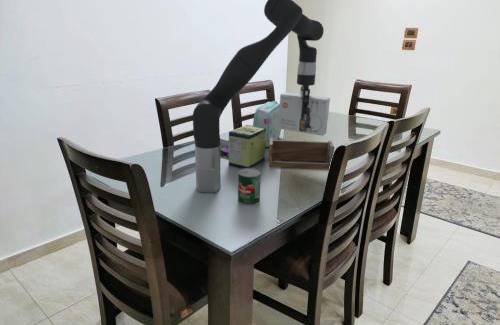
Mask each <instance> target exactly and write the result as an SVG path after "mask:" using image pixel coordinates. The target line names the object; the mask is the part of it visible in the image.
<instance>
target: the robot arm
mask: <svg viewBox="0 0 500 325" xmlns="http://www.w3.org/2000/svg"><path fill="white" fill-rule="evenodd" d="M263 11H264V12H263V13H264V16H265V17H266V19H267V20H268V21H269V22H270V23H271V24H272V25H274V26H275V28H274V29H273V30H272V31H271V32H269V34H268V35H267V36H266V37H264V38H262V39H259V40H257V41H255V42H252V43H250V44H247V45H245V46H243V47H241V48H240V49H239V50H238V51H236V53H235V55H234V56H233V57H232V58H231V60H230V61H229V62H228V64H227V66H226V67H225V69H224V70H223V72H222V74H221V75H220V78H219V80H218V81H217V83H216V84H215V85H214V87H213V88H212V90H211V91H209V92H208V94H206V96H205V97H204V98H203V99H202V100H201V101H200V102H198V103H197V105H196V106H195V108H194V110H193V113H192V128H193V130H192V132H193V139H194V151H195V152H194V156H195V161H194V162H195V185H196V186H195V188H196V190H197V192H198V193H208V194H209V193H210V194H211V193H212V194H215V193H216V192H217V191H219V190H220V189H221V183H222V182H221V155H220V139H221V135H220V133H221V132H220V129H221V128H220V117H221V116H222V114H223V112H224V110H225V109H226V108H227V106H228V104H229V102H230V101H231V100H232V99H233V97H234V96H236V95H237V94H238V93H239V92H240V91H241V90H243V88H244V87H245V86H246V85H248V84H249V82H250V81H251V80H252V79H253V77H254V76H255V75H256V74H257V72H258V71H259V70H260V68H261V67H262V66H263V65H264V63H265V62H266V60H267V59H268V58H269V57H270V55H271V54H272V53H273V52H274V50H275V49H277V47H278V46H280V43H282V42H283V40H284V39H285V38H286V37H287V36H288V35H289V34H290V33H291V32H293V33H294V34H296V37H297V40H298V41H297V42H298V49H299V53H298V54H299V56H298V65H297V75H296V84H297V85H298V86H300V90H299V92H300V93H299V94H300V95H301V100H302V114H307V106H308V104H309V95H310V94H311V89H310V86H314V85H315V84H316V72H317V56H318V55H317V53H318V52H317V51H318V49H317V47H315V46H310V45H309V44H308V43H307V41H311V42H312V41H314V42H316V41H320V40H321V39H322V37H323V35H324V26H323V24H322V23H321V22H320V21H318V20H315V19H311V18H309V17H308V16H306V15H305V14H304V13H303V8H302V7H301V6H300V5H299V4H297V3H296V2H295V1H294V0H267V1H266V3H265V4H264V7H263ZM310 96H311V95H310ZM304 100H307V102H304Z"/></svg>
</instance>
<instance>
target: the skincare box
mask: <svg viewBox="0 0 500 325" xmlns="http://www.w3.org/2000/svg"><path fill="white" fill-rule="evenodd" d="M279 96H280V97H279V104H280V109H279V127H278V128H279V129H281V130H285V131H291V132H297V133H304V134H309V135H315V136H321V137H324V136H325V135H326V134H327V129H328V128H327V127H328V121H329V120H328V119H329V110H330V102H331V98H330V97H326V96H316V95H309V104H308V106H307V114H302V100H301V95H300V93H292V92H286V91H285V92H284V91H283V93H280V95H279ZM304 102H307V100H304Z"/></svg>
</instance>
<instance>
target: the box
mask: <svg viewBox="0 0 500 325" xmlns="http://www.w3.org/2000/svg"><path fill="white" fill-rule="evenodd" d="M221 156H222V157H225V158H227V159H229V140H228V139H227V140H226V139H222V138H220V157H221Z"/></svg>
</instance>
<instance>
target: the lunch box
mask: <svg viewBox="0 0 500 325" xmlns="http://www.w3.org/2000/svg"><path fill="white" fill-rule="evenodd" d="M279 109H280V102H278V101H277V100H272V101H267V102H265V103H264V104H262V105H259V106H257V107H256V109H255V112H254V115H253V121H252V126H256V127H262V128H266V139H265V148H269V146H270V138H273V140H279V138H280V137H281V132H282V129H279V128H278V127H279Z"/></svg>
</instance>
